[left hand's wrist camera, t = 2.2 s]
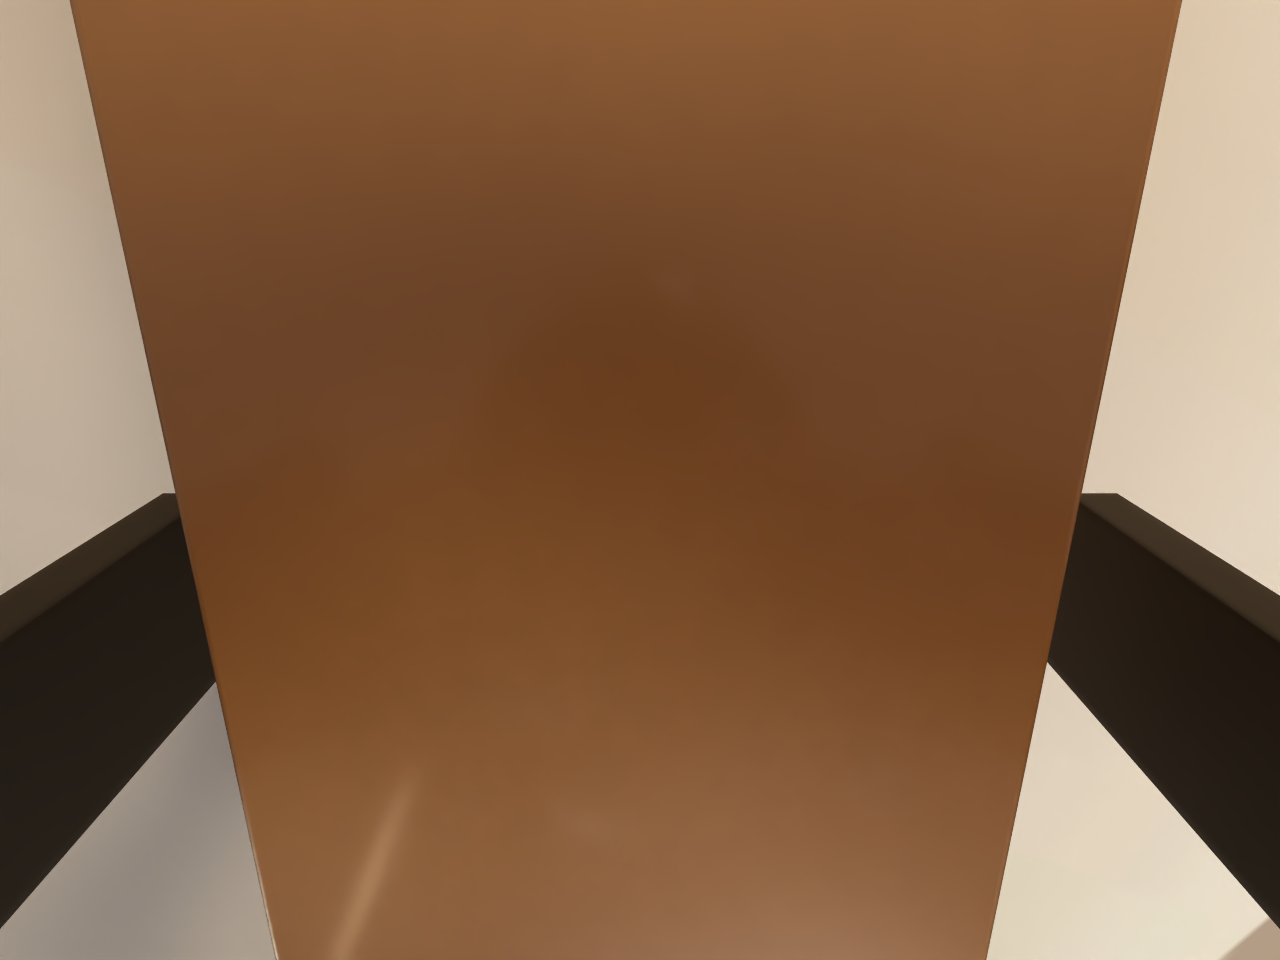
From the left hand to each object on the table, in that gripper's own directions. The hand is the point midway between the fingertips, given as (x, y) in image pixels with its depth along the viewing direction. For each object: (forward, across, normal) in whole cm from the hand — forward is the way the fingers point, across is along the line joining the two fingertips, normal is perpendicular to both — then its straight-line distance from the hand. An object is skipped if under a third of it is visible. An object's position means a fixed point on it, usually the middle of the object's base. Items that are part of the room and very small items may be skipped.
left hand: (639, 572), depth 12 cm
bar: (+3, 0, -9) cm, 9 cm away
